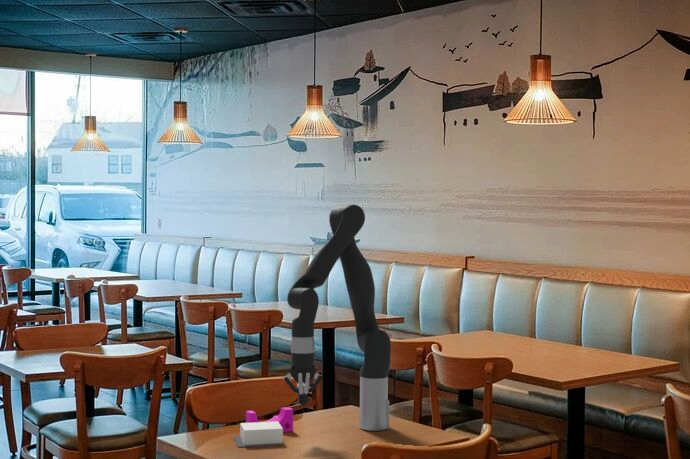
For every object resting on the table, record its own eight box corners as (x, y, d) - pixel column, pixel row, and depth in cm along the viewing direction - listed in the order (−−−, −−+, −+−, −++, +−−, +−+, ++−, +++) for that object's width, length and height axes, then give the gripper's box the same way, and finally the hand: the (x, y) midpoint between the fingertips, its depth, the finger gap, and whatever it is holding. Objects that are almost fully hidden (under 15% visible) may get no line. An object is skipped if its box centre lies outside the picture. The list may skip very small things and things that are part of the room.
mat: (275, 435, 290) (275, 434, 290) (281, 445, 278) (281, 444, 278) (233, 437, 287) (233, 436, 287) (238, 447, 275) (238, 446, 275)
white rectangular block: (277, 421, 289) (240, 423, 286) (282, 428, 279) (244, 430, 276) (277, 435, 289) (240, 437, 286) (282, 443, 279) (244, 445, 276)
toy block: (285, 428, 302) (285, 405, 301) (293, 432, 296) (293, 409, 296) (243, 432, 295) (243, 409, 295) (249, 436, 289) (250, 413, 289)
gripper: (320, 348, 291) (320, 402, 291) (280, 349, 287) (280, 404, 288) (325, 351, 283) (325, 406, 283) (284, 353, 280) (284, 408, 280)
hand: (302, 405), depth 286 cm, fingers closed
